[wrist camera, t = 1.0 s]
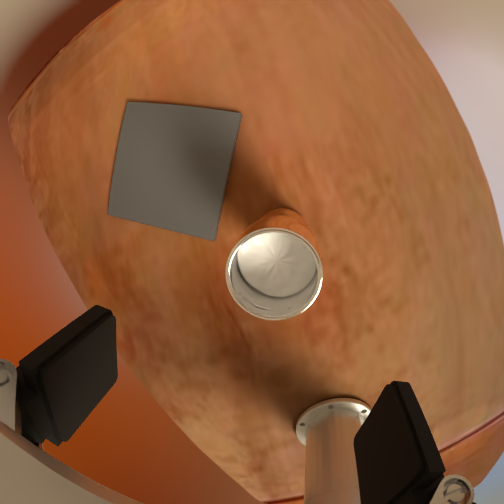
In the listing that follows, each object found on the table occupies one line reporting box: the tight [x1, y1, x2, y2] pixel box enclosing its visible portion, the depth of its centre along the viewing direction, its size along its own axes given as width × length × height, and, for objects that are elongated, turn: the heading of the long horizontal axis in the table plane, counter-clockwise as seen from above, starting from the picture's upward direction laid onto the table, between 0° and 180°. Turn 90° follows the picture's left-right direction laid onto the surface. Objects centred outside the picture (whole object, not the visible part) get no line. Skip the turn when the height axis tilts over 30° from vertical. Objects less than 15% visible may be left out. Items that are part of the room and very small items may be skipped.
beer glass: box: [225, 208, 323, 320], centre depth 27 cm, size 7×7×15 cm
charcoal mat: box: [108, 102, 242, 241], centre depth 34 cm, size 15×15×1 cm
